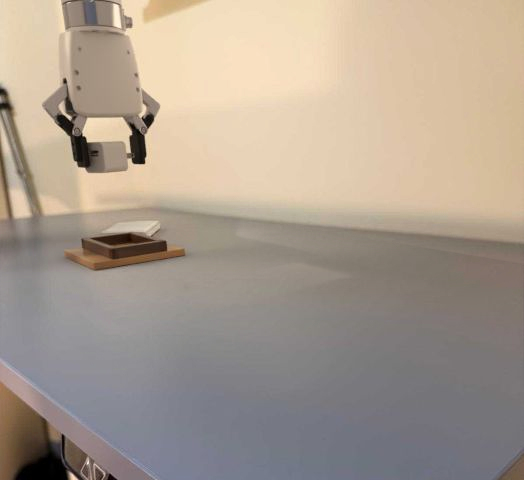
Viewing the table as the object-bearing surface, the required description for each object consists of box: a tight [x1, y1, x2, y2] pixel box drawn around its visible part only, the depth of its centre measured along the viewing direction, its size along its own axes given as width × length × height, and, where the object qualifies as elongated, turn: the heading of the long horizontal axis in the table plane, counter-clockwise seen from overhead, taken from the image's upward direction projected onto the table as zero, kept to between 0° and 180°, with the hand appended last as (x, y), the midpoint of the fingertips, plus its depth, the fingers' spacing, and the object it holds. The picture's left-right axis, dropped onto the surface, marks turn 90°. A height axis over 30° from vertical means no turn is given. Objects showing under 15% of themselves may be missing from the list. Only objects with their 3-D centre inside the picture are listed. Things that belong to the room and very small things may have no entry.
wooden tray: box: [63, 232, 186, 271], centre depth 80 cm, size 12×14×2 cm
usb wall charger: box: [84, 140, 135, 174], centre depth 76 cm, size 4×7×4 cm, turn 150°
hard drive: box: [98, 220, 161, 237], centre depth 98 cm, size 2×8×12 cm
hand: (112, 164), depth 77 cm, fingers closed on usb wall charger, 7 cm apart
